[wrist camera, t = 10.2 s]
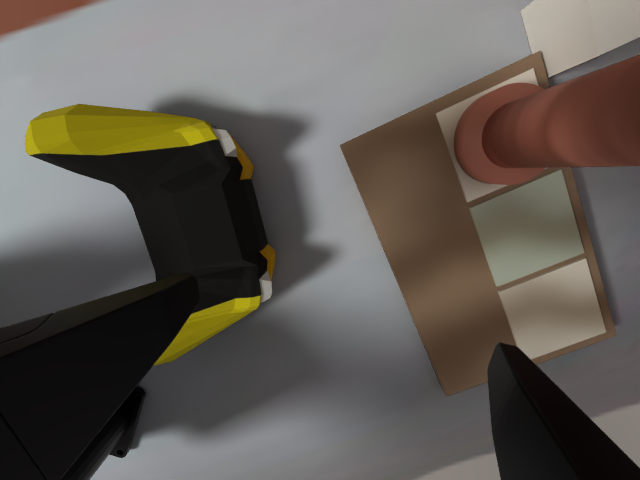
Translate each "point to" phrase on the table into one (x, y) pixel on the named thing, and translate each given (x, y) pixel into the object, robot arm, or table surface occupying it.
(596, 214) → the table surface
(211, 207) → the gaming controller
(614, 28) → the die
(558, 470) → the robot arm
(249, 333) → the table surface
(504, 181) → the pawn
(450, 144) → the game board
